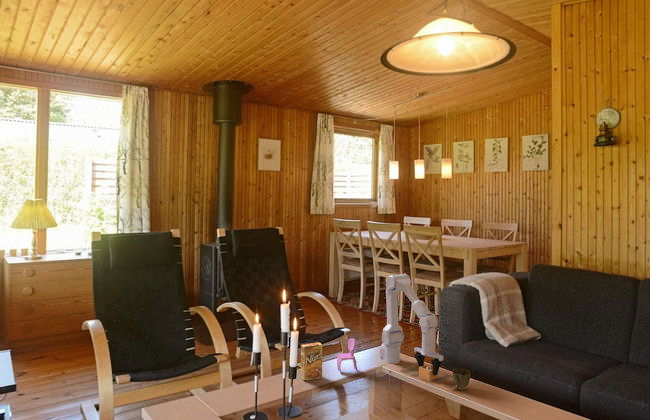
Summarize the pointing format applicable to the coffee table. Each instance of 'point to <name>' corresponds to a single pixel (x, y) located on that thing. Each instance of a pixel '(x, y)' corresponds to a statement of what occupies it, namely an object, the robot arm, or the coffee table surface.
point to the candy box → (311, 361)
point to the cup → (461, 378)
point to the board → (414, 372)
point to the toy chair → (348, 355)
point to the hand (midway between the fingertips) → (428, 372)
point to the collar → (427, 373)
